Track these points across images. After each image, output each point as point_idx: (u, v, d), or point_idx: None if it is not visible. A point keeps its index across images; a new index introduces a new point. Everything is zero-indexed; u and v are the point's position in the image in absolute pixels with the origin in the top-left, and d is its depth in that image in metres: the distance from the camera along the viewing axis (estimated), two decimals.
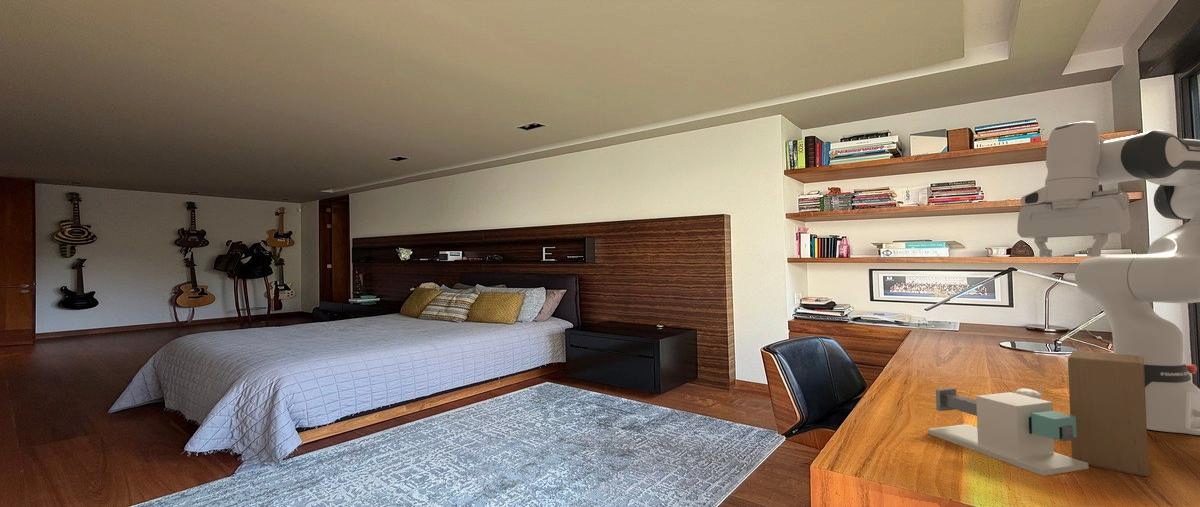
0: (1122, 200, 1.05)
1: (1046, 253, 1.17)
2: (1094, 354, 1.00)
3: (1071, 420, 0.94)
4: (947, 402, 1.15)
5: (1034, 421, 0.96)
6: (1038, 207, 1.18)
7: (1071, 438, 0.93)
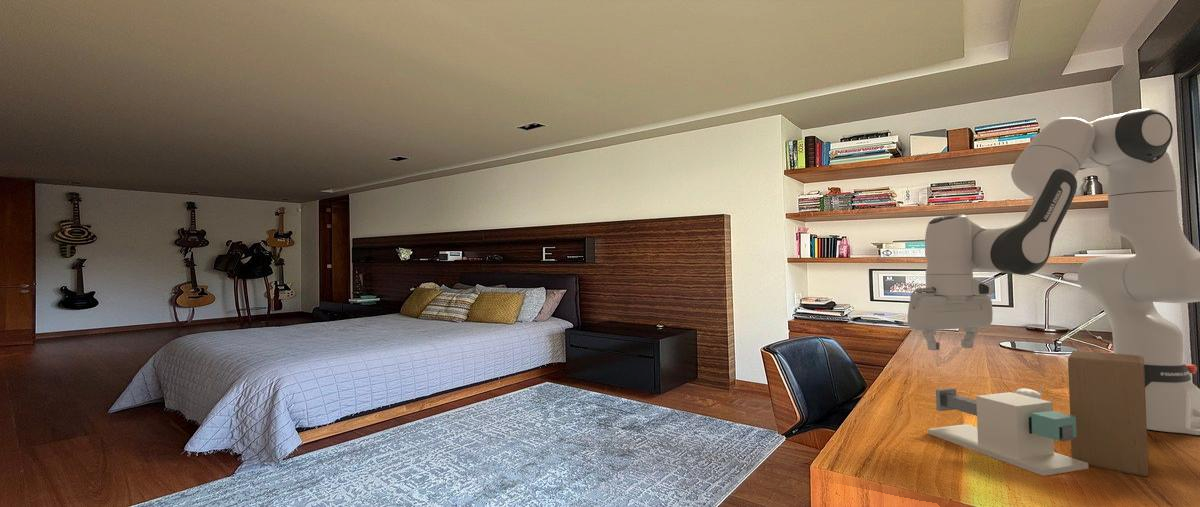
0: None
1: (962, 344, 1.17)
2: (1094, 354, 1.00)
3: (1071, 420, 0.94)
4: (947, 402, 1.15)
5: (1034, 421, 0.96)
6: None
7: (1071, 438, 0.93)
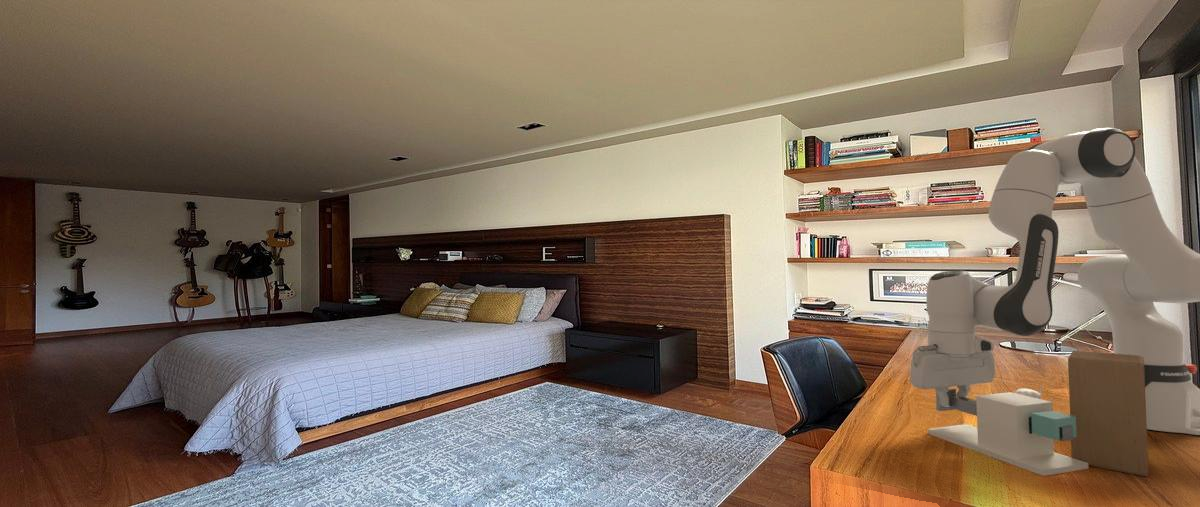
0: None
1: None
2: (1094, 354, 1.00)
3: (1071, 420, 0.94)
4: None
5: (1034, 421, 0.96)
6: None
7: (1071, 438, 0.93)
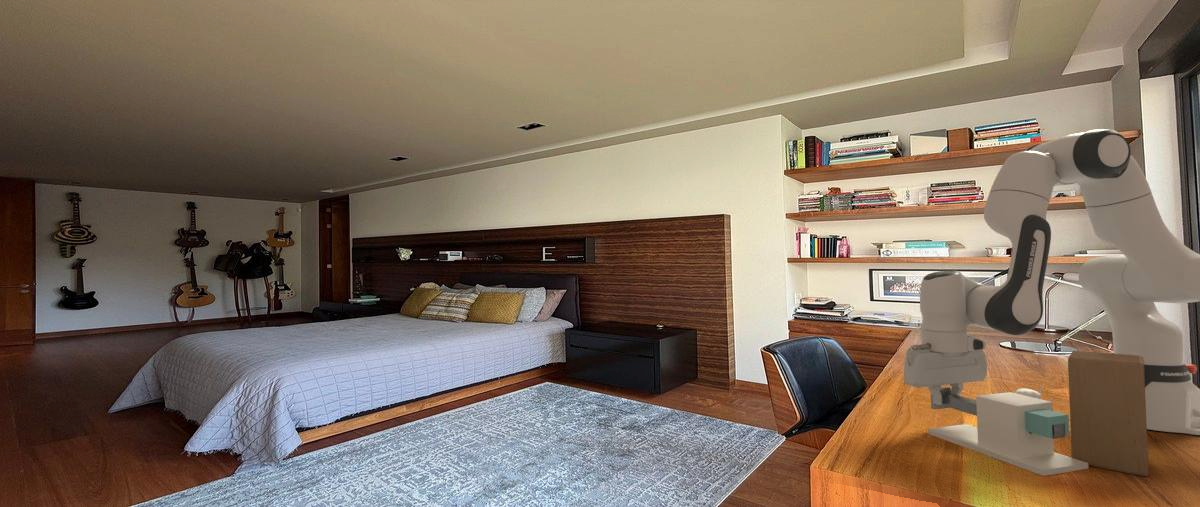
0: None
1: None
2: (1094, 354, 1.00)
3: (1064, 418, 0.95)
4: None
5: (1027, 419, 0.97)
6: None
7: (1062, 436, 0.95)
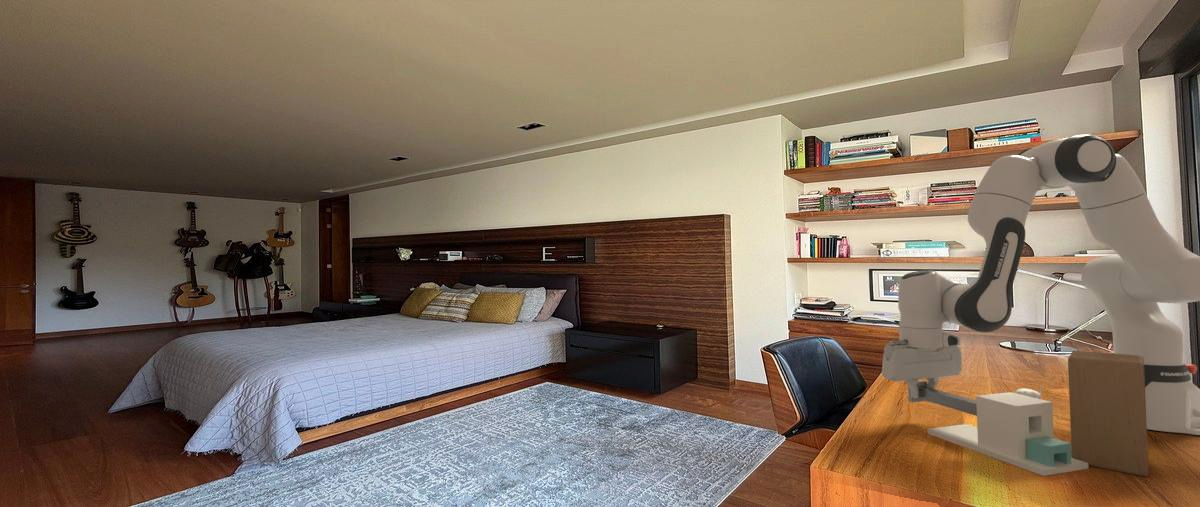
0: None
1: None
2: (1094, 354, 1.00)
3: (1066, 447, 0.95)
4: None
5: (1029, 447, 0.97)
6: None
7: None
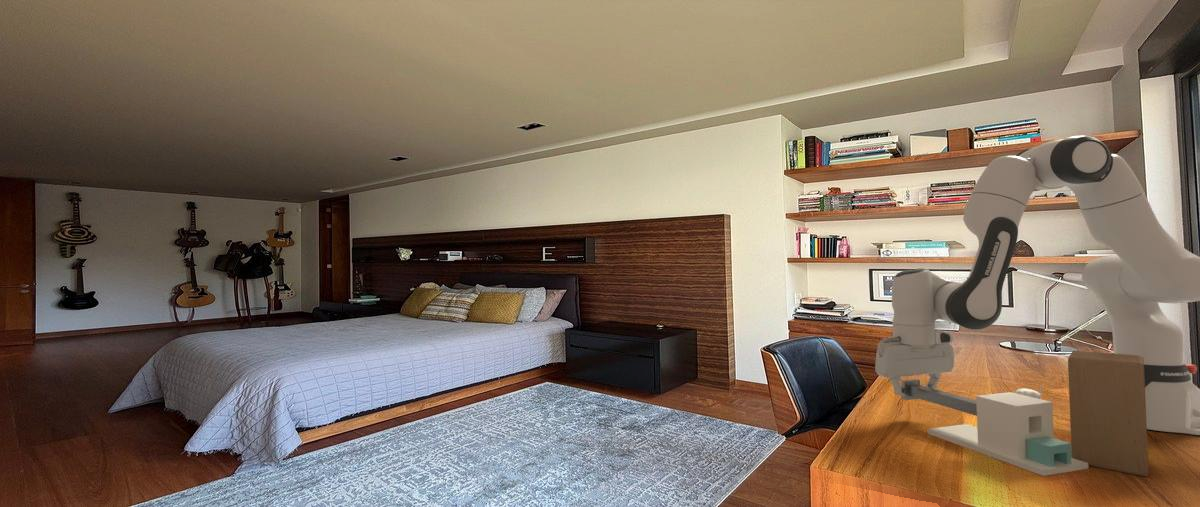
0: None
1: None
2: (1094, 354, 1.00)
3: (1066, 447, 0.95)
4: (911, 392, 1.24)
5: (1029, 447, 0.97)
6: None
7: None
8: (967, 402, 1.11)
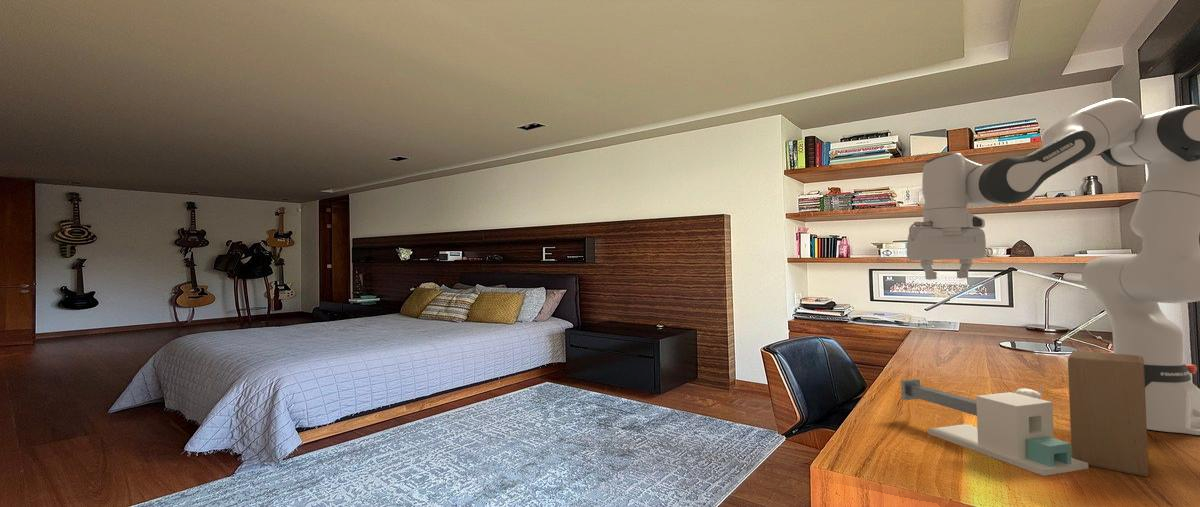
0: None
1: (957, 275, 1.25)
2: (1094, 354, 1.00)
3: (1066, 447, 0.95)
4: (911, 392, 1.24)
5: (1029, 447, 0.97)
6: None
7: None
8: (967, 402, 1.11)
